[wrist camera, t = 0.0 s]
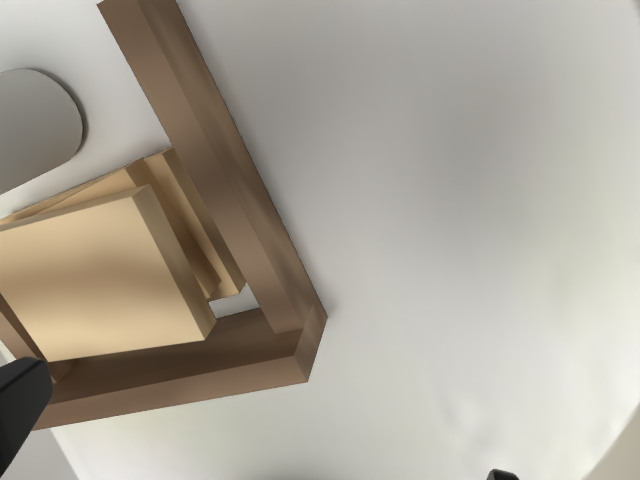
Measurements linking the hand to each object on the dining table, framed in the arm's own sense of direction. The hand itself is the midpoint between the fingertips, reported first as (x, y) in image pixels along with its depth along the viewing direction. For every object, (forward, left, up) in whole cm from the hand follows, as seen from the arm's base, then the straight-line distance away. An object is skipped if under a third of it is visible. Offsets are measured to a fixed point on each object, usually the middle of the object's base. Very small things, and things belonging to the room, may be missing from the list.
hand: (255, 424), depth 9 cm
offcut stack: (-7, +12, -15) cm, 20 cm away
